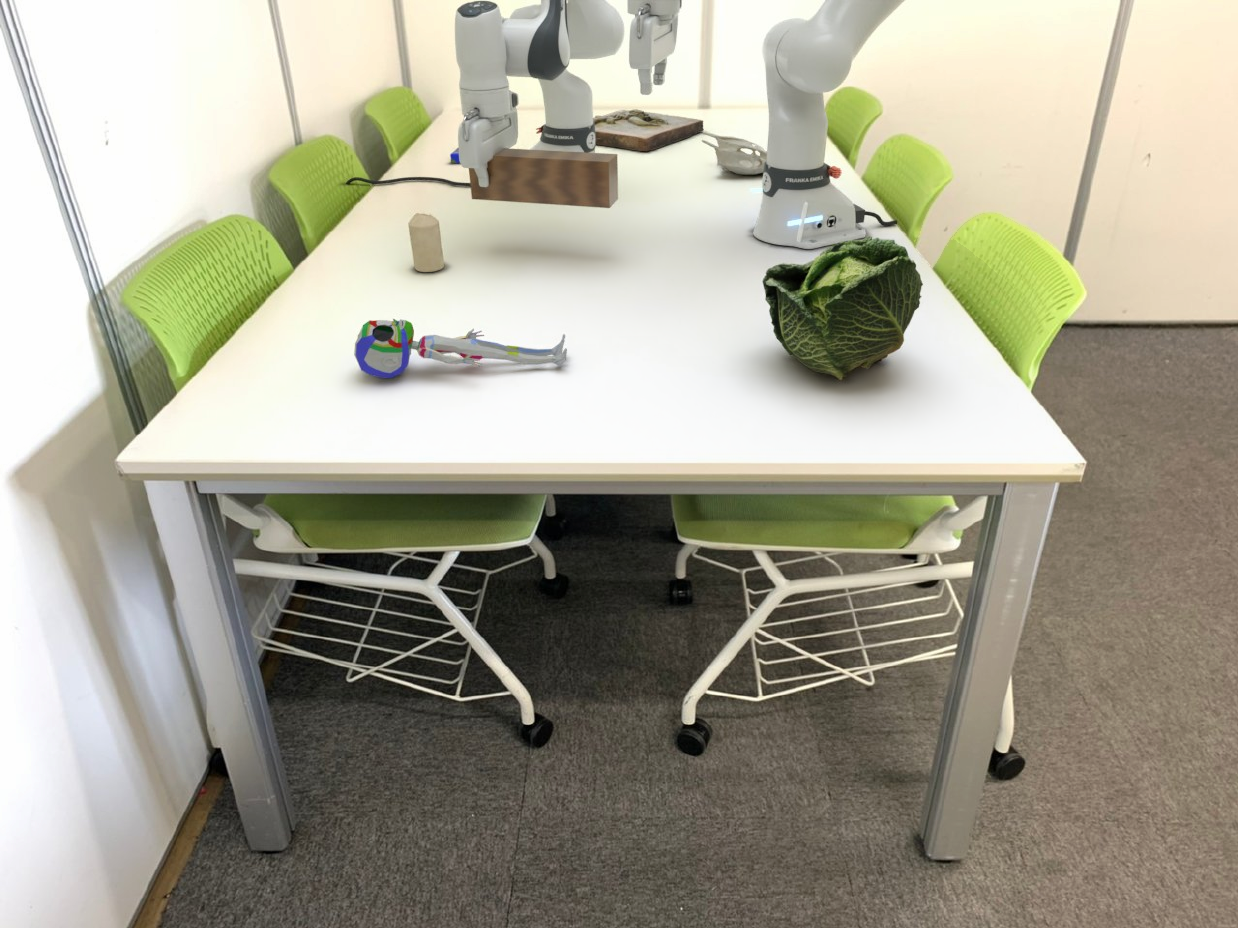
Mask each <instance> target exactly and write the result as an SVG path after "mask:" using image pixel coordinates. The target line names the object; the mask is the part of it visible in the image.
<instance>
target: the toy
mask: <svg viewBox="0 0 1238 928" xmlns="http://www.w3.org/2000/svg"><path fill="white" fill-rule="evenodd" d="M474 331H475V328H472V329H471V330H469V331H468V332H467V333H466V334H465V335H463V336H458V337H449V336H448V337H447V336H442V335H439V334H428V335H423V336H421V338H420V339H419V341H417V340H414V336H415V329H414V326H413V324H412V322H410V321H408V320H407V319H399V320H397V319H395V318H392V320H387V319H379V320H368V321H367V322H365V323H364V324H362V326H361V329H360V331H359V333H358V334H357V338H356V340H355V342H354V354H353V355H354V357H355V359H356V362H357V364H358V366H359V369H360V370H361V372H364V373H366V374H367V375H370V376H373V377H377V378H382V379H383V378H384V379H392V378H394V377H396V376H398V375H400V374H401V375H402V374H403V372H404V371H405V370H406V368H407V367H408V366H409V364H410V357H411V355H412V350H415V351H417V353H418V356H419V357H421V358H422V359H430V360H434V361H438V362H442V363H444V364H449V365H458V364H459V365H461V364H465V365H471V366H477V367H479V368H480V367H481V366H482V365H483V363H482V362H478V361H480V360H482V359H487V360H488V359H489V360H503V361H509V362H514V363H517V364H520V365H528V366H529V365H542V364H550V363H553V364H555V365H557V366H559V367H562V366H563V364H564V362H565V361H566V360H567V357H568V355H567V353H568V348H566V347H565V348H564V345H565V340H566V334H565V333H563V334H562V338H561V340H560V341H559V343H558V344H556V345H555V346H554V347H552V348H533V347H532V348H531V347H523V346H518V345H517V346H516V345H504V344H501V343H498V342H494V341H488V340H482V339H478V338H479V337H480V338H481V337H485V334H480V333H482V332H483V331H482V330H479V331H476V332H474ZM563 349H564V350H563ZM453 353H455V354H457V355H459V357H458V356H455V355H448V354H453ZM445 354H447V355H445Z"/></svg>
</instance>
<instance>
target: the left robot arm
mask: <svg viewBox="0 0 1238 928" xmlns="http://www.w3.org/2000/svg"><path fill="white" fill-rule="evenodd" d="M623 21H624V20H623V18H622V15H621V14H620V12H619V11H618V10H617V9H616V8H615V6H613V5H611V3H609V2H608V1H607V0H540V4H532V5H527V6H522V7H519V8H515V9H514V10H513V12H512V13H511V15H510V16H509V18H508V17H504V16H502V14H501V10H500V6H499V5H498V4H497V3H496V2H494V1H490V0H473V1H470V2H469V1H468V2H466V3H463V4H461V5H460V6H459V7H458V8H457V9H456V11H455V17H454V47H455V48H454V49H455V59H456V63H457V66H458V69H459V82H458V88H459V97H460V106H461V107H460V108H461V115H463V120H462V121H461V122H460V124H459V126H458V130H457V131H458V132H457V144H458V147H459V161H460V163H459V164H460V165H461V167H462V168H464V169H469V168H474V170H475V172H476V174H477V176H478V180H479V186H480V187H487V186H489V185H490V184H491V181H490V176H488V173H487V169H486V168H487V167H488V166H487V162H489V161H490V160H492V159H493V155H495V154H497V153H498V152H500V151H501V150H503V149H504V148H508V149H512V147H514V146H515V145H517V143H518V138H519V117H518V109H517V106H519V104H520V102H519V101H520V99H519V95H518V93H516V92H515V91H512V90H510V83H509V80H508V77H512V78H513V77H515V78H533V79H536V80H538V83H539V86H540V89H541V93H542V99H543V107H544V118H545V119H544V120H545V121H544V122H545V123H544V124H543V125H541V126H540V127H537V128H535V130H536V132H535V133H536V134H540V138H539V141H538V142H536V143H535V144H534V145H533V146H532V147H530V149H529V150H547V151H567V152H586V153H596V145H597V144H596V133H595V124H594V123H593V118H594V102H593V101H594V100H593V99H594V98H593V90H592V88H591V86H590V85H589V83H588V82H587V81H586V80H584V79H583V78H581V77H579V76H578V75H575V74H573V73H571V72H570V71H569V70H568V69H567V68H568V67H569V64H570V60H597V59H598V60H599V59H602V58H607V57H611V56H614V55H616V54H617V53H618V52H619V50H620V49H621V47H622V45H623V43H624V39H625V25H624V24H625V23H624V22H623ZM458 147H457V148H458ZM355 181H357V182H363V183H367V184H372V185H386V184H393V183H399V182H407V181H429V182H430V181H431V182H441V183H445V184H448V185H453V186H457V187H459V186H460V187H471V185H470V182H459V181H458V182H457V181H453V180H449V179H447V178H442V177H433V176H407V177H398V178H391V179H385V180H371V179H367V178H364V177H359V176H355V177H351V178H349V179H348V180H347V181H346V182H345V185H350V184H351V183H353V182H355Z"/></svg>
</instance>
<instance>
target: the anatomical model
mask: <svg viewBox="0 0 1238 928" xmlns="http://www.w3.org/2000/svg"><path fill="white" fill-rule="evenodd" d="M702 135H704V136H708V137H711V138H714V139H715V140H716V142H717V145H715V144H713V143H712V142H709V141H708V140H705V139H701V142H702V143H703V144H706V145H708V146H709V147H711V148H713V149H714V152H715V155H716V160H717V164H716V165H717V166H721V167H722V170H724V171H727V172H729V171H730V172H733V173H735V174H736V175H744V176H747V175H750V176H751V175H752V176H753V175H759V174H763V171H764V163H765V162H766V161H767V150H766V149H764V148H763V147H762V146H761V145H759V144H757V143H755V142H752V141H749V140H748V139H744V138H739V137H736V136H730V135H729V136H727V135H726V136H725V135H719V134H715V133H711V132H707V131H702ZM743 149H747V150H751V151H752V152H751V153H748V152H747V153H746V152H745V151H743ZM756 152H758V153H759V155H758V154H756Z"/></svg>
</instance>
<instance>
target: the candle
mask: <svg viewBox="0 0 1238 928" xmlns="http://www.w3.org/2000/svg"><path fill="white" fill-rule="evenodd" d="M407 225H408V232H409V238H410V246H411V253H412V260H413V266H414V269H415V270H416V271H417V272H421V273H432V272H437V271H440V270H442V269H443V268H444V267H445V261H444V260H445V259H444V253H443V252H444V251H443V245H442V236H441V227H440V221H439V219H438V218H436V217H435V216H433V215H432V214H428V213H419V212H416V213H415V214H414V215H413V216H412V218H411V219H410V220H409V222H408V223H407Z"/></svg>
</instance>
